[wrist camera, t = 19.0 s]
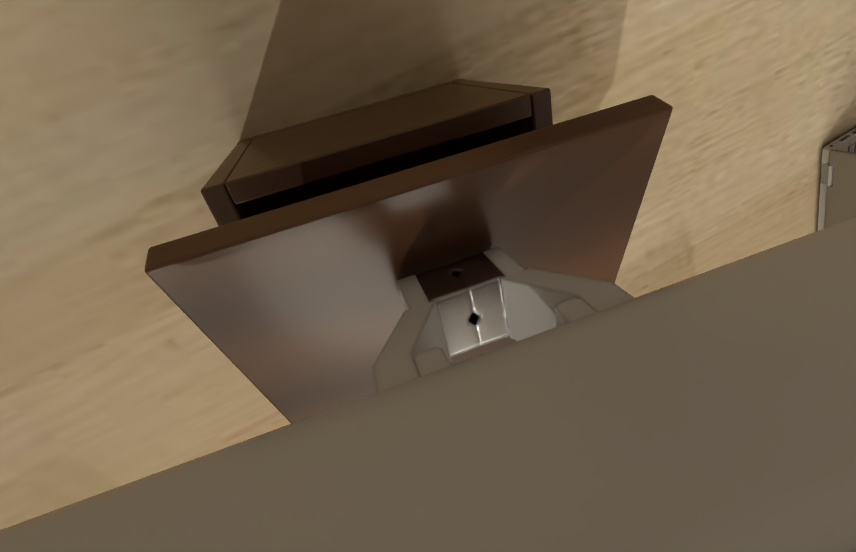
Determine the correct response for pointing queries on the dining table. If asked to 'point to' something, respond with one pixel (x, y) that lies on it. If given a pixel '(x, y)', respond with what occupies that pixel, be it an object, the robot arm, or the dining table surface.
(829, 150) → the laptop
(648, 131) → the lid
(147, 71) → the dining table surface
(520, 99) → the box
